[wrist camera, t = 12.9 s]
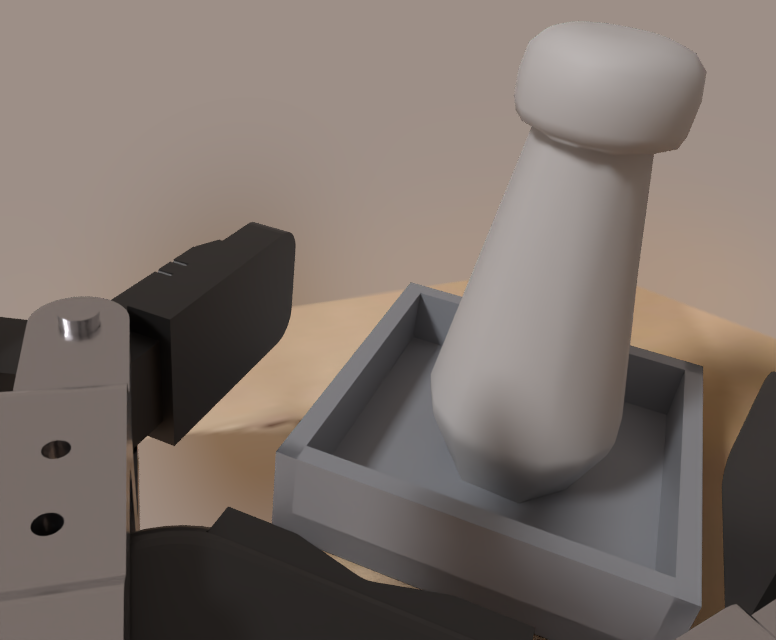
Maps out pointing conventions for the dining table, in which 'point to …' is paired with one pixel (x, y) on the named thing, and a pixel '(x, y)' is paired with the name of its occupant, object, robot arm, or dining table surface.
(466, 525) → the tray
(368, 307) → the dining table surface
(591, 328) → the salt shaker
